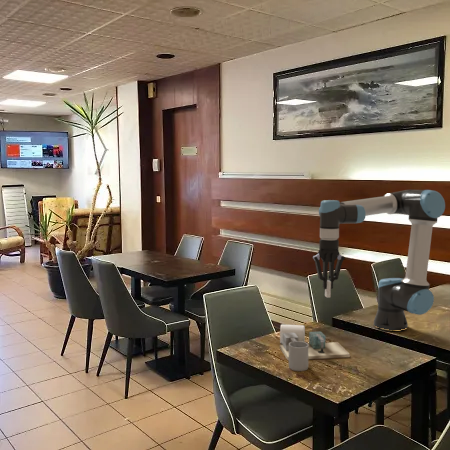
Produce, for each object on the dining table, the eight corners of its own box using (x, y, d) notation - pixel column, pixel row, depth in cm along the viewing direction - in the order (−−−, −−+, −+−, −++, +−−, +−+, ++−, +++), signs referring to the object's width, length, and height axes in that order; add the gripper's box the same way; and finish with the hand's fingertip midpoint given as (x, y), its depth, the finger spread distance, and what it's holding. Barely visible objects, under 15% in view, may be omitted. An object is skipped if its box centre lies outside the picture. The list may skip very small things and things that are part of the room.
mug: (304, 347, 203) (304, 328, 202) (280, 346, 205) (280, 327, 204) (305, 338, 215) (305, 320, 214) (282, 336, 216) (282, 319, 216)
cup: (295, 372, 177) (295, 349, 176) (281, 363, 186) (281, 340, 185) (312, 369, 180) (312, 346, 179) (297, 360, 189) (297, 337, 188)
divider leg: (320, 343, 203) (320, 331, 203) (328, 351, 193) (328, 339, 193) (309, 343, 203) (309, 331, 202) (316, 352, 193) (316, 339, 192)
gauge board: (337, 344, 205) (338, 329, 205) (349, 357, 191) (350, 340, 191) (279, 347, 202) (279, 332, 202) (287, 360, 189) (287, 344, 188)
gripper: (341, 237, 199) (340, 294, 201) (310, 237, 198) (309, 294, 200) (348, 239, 192) (346, 298, 194) (316, 240, 190) (314, 299, 192)
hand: (327, 296), depth 197 cm, fingers closed
